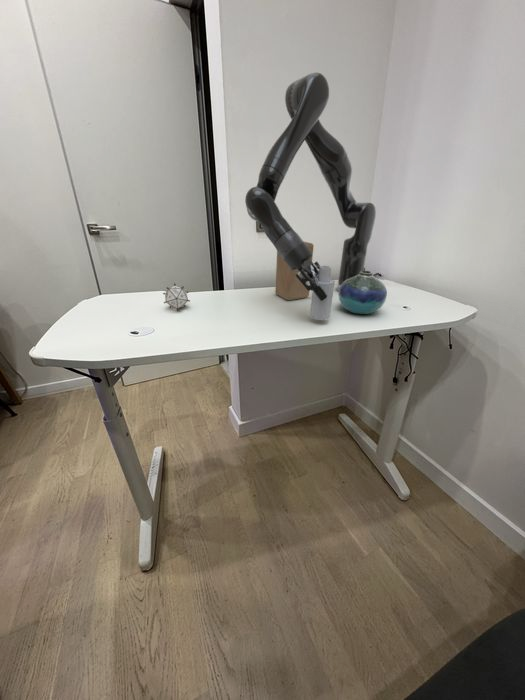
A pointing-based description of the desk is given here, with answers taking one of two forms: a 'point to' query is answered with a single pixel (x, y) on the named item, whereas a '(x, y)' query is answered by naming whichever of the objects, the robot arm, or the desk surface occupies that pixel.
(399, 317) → the desk surface
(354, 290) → the vase
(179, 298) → the grey spiked polyhedron
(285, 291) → the wooden block
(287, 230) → the robot arm
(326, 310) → the flask
